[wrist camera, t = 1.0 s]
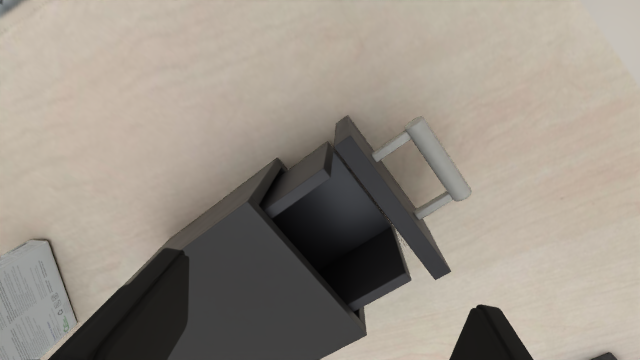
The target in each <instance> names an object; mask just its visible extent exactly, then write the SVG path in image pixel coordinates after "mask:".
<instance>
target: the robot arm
mask: <svg viewBox="0 0 640 360" xmlns="http://www.w3.org/2000/svg"><path fill="white" fill-rule="evenodd" d="M188 305H189V256H185V252H184V251H183V250H178V249H173V248H167V247H166V248H164V249H163V250H162V251H161V252H160V253H159V254H158V255H157V256H156V257H155V258H154V259H153V260H152V261H151V262H150V263H149V264H148V265H147V266H146V267H145V268H144V269H143V270H142V271H141V272H140V273H139V274H138V275H137V276H136V277H135V278H134V279H133V280H132V281H131V282H130V283H129V284H126V285H123V286H122V287H121V288H120V289H118V290H117V291H116V292H115V293H114V294H113V295H112V296H111V297H110V298H109V299H108V300H107V301H106V302H105V303H104V304H103V305H102V306H101V307H100V308H99V309H98V310H97V311H96V312H95V313H94V314H93V315H92V316H91V317H90V318H89V319H88V320H87V321H86V322H85V323H84V324H83V325H82V326H81V327H80V328H79V329H78V330H77V331H76V332H75V333H74V334H73V335H72V336H71V337H70V338H69V339H68V340H67V341H66V342H65V343H64V344H63V345H62V346H61V347H60V348H59V349H58V350H57V351H56V352H55V353H54V354H53V355H52V356H51V357H50V358H49V359H48V360H167V359H168V357H169V356H170V354H171V352H172V351H173V349H174V347H175V346H176V344H177V342H178V341H179V339H180V337H181V336H182V334H183V332H184V330H185V328H186V326H187V322H188ZM33 360H39V359H33ZM449 360H533V358H532V357H531V355H530V354H529V352H528V351H527V349H526V348H525V346H524V345H523V343H522V342H521V340H520V338H519V337H518V335H517V334H516V332H515V331H514V329H513V328H512V326H511V325H510V323H509V322H508V320H507V319H506V317H505V315H504V314H503V312H502V311H501V310H500V309H499V308H497V307H492V306H486V305H478V306H477V307H476V308H472V309H471V311H470V313H469V315H468V318H467V320H466V322H465V325H464V327H463V329H462V332H461V334H460V336H459V339H458V341H457V343H456V345H455V348H454V350H453V352H452V355H451V357H450V359H449Z"/></svg>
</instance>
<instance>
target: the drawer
mask: <svg viewBox="0 0 640 360" xmlns="http://www.w3.org/2000/svg"><path fill="white" fill-rule="evenodd" d="M405 130H406V131H404V132H402V133H401V134H399V135H398V136H396V137H395V138H394V139H392V140H391V141H389V142H388V143H386V144H385V145H383V146H382V147H381V148H379V149H378V150H376V151H375V152H374V151H373V149H372V148H371V146H370V145H369V144H368V142H367V141H366V140H365V138H364V137H363V135H362V134H361V133H360V131H359V130H358V129H357V127H356V126H355V124H354V123H353V122H352V120H351V119H350V118H349V116H348V115H347V116H346V117H344V118H343V119H342V120H340V121H339V122H338V123H336V130H335V142H334V148H335V149H336V151H337V152H338V153H339V155H340V156H341V157H342V158H343V160H344V161H345V162H346V164H347V165H348V166H349V168H350V169H351V170H352V172H353V173H354V174H355V176H356V177H357V178H358V179H359V181H360V182H361V183H362V185H363V186H364V187H365V189H366V190H367V191H368V193H369V194H370V195H371V197H372V198H373V199H374V200H375V202H376V203H377V204H378V206H379V207H380V208H381V210H382V211H383V212H384V214H385V215H386V216H387V217H388V219H389V220H390V221H391V223H392V224H393V225H394V227H395V228H396V229H397V231H398V232H399V233H400V235H401V236H402V237H403V238H404V240H405V241H406V242H407V244H408V245H409V246H410V248H411V249H412V250H413V252H414V253H415V254H416V256H417V257H418V258H419V259H420V261H421V262H422V263H423V265H424V266H425V267H426V269H427V270H428V271H429V273H430V274H431V275H432V276H433V278H434V279H435V280H437V279H439V278H440V277H442V276H444V275H446V274H448V273H450V272H451V270H450V268H449V266H448V265H447V263H446V261H445V259H444V257H443V255H442V253H441V252H440V250H439V248H438V246H437V244H436V242H435V240H434V239H433V237H432V235H431V233H430V231H429V229H428V227H427V226H426V224H425V222H424V220H423V218H424V217H425V216H427V215H429V214H430V213H432V212H434V211H435V210H437V209H439V208H440V207H442V206H444V205H445V204H447V203H449V202H450V201H452V200H454V201H462V200H464V199H466V198H468V197H469V196H470V194H471V192H472V191H471V189H470V187H469V186H468V184H467V182H466V181H465V179H464V178H463V176H462V175H461V173H460V172H459V170H458V169H457V167H456V166H455V164H454V163H453V161H452V160H451V158H450V157H449V155H448V154H447V152H446V150H445V149H444V147H443V146H442V144H441V143H440V141H439V140H438V138H437V137H436V135H435V134H434V132H433V131H432V129H431V128H430V126H429V125H428V123H427V122H426V120H425V118H424V117H423V116H420V117H417V118H415V119H414V120H412V121H411V122H409V123H408V124H407V125H406V126H405ZM410 139H412V140H413V142H414V143H415V145H416V146H417V148H418V149H419V151H420V152H421V154H422V155H423V157H424V158H425V159H426V161H427V162H428V164H429V165H430V167H431V168H432V170H433V171H434V173H435V174H436V176H437V177H438V179H439V180H440V181H441V183H442V184H443V186H444V187H445V189H446V190H447V191H446V192H444V193H443V194H441V195H439V196H438V197H436V198H434V199H433V200H431V201H429V202H428V203H426V204H425V205H423V206H421V207H420V208H418V209H416V208H415V207H414V206H413V204H412V203H411V201H410V200H409V199H408V197H407V196H406V195H405V193H404V192H403V190H402V189H401V188H400V186H399V185H398V184H397V182H396V181H395V179H394V178H393V177H392V175H391V174H390V173H389V171H388V170H387V168H386V167H385V166H384V164H383V163H382V162H381V159H382V158H384V157H385V156H387V155H388V154H390V153H391V152H393V151H394V150H396V149H397V148H399V147H400V146H402V145H403V144H405V143H406V142H408V141H409V140H410ZM334 148H333V147H332V146H331V144H330V143H329V142H328V141H327V142H326V143H325V144H323V145H322V146H321V147H319V148H318V149H316V150H315V151H314V152H312V153H311V154H310V155H308V156H307V157H306V158H304V159H303V160H301V161H300V162H299V163H297V164H296V165H295V166H293V167H292V168H291V169H289V170H288V171H287V172H285V173H284V174H282V175H281V176H280V177H278V178H277V179H276V180H274V181H273V182H272V184H271V185H270V187H269V189H268V190H267V192H266V194H265V195H264V197H263V199H262V200H261V202H260V204H259V206H260V208H261V209H262V210H263V211H264V212H265V213H266V214H267V215H268V217H269V218H270V219H271V220H272V221H273V222H274V223H275V225H276V226H277V227H278V228H279V229H280V230H281V231H282V232H283V234H284V235H285V236H286V237H287V238H288V239H289V240H290V241H291V243H292V244H293V245H294V246H295V247H296V248H297V249H298V250H299V252H300V253H301V254H302V255H303V256H304V257H305V258H306V259H307V261H308V262H309V263H310V264H311V265H312V266H313V267H314V269H315V270H316V271H317V272H318V273H319V274H320V275H321V276H322V278H323V279H324V280H325V281H326V282H327V283H328V284H329V285H330V287H331V288H332V289H333V290H334V291H335V292H336V293H337V294H338V296H339V297H340V298H341V299H342V300H343V301H344V302H345V303H346V305H347V306H348V307H349V308H350V309H351V310H352V311H353V312H354V311H356V310H358V309H360V308H362V307H363V306H365V305H367V304H369V303H371V302H373V301H375V300H376V299H378V298H380V297H382V296H384V295H386V294H387V293H389V292H391V291H393V290H395V289H397V288H398V287H400V286H402V285H404V284H406V283H408V282H409V281H411V277H410V274H409V271H408V268H407V265H406V262H405V258H404V255H403V252H402V249H401V246H400V243H399V240H398V237H397V234H396V231H395V228H394V227H393V225H392V224H391V223H390V221H389V220H388V219H387V218H386V216H385V215H384V214H383V212H382V211H381V210H380V208H379V207H378V206H377V204H376V203H375V202H374V201H373V199H372V198H371V197H370V195H369V194H368V193H367V191H366V190H365V189H364V187H363V186H362V185H361V183H360V182H359V181H358V180H357V178H356V177H355V176H354V174H353V173H352V172H351V170H350V169H349V168H348V166H347V165H346V164H345V163H344V161H343V160H342V159H341V157H340V156H339V155H338V153H337V152H336V151H335V149H334Z"/></svg>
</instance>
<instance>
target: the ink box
mask: <svg viewBox="0 0 640 360" xmlns="http://www.w3.org/2000/svg"><path fill="white" fill-rule="evenodd" d="M76 324H77V321H76V319H75V316H74V313H73V310H72V308H71V305H70V302H69V299H68V296H67V294H66V291H65V288H64V285H63V282H62V280H61V277H60V274H59V271H58V268H57V266H56V263H55V260H54V257H53V254H52V252H51V249H50V246H49V243H48V241H47V240H35V239H33V240H29V241H27V242H25V243H23V244H21V245H19V246H18V247H16V248H14V249H12V250H11V251H9V252H7V253H6V254H4V255H2V256H0V360H33V359H40V358H41V357H42V356H43V355H44V354H45V353H46V352H48V351H49V350H50V349H51V348H52V347H53V346H54V345H55V344H56V343H57V342H58V341H59V340H60V339H61V338H62V337H63V336H64V335H66V334H67V333H68V332H69V331H70V330H71V329H72V328H73V327H74V326H75V325H76Z"/></svg>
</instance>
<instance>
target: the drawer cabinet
mask: <svg viewBox="0 0 640 360" xmlns="http://www.w3.org/2000/svg"><path fill="white" fill-rule="evenodd" d="M287 171H288V170H287V168H286V167H285V166H284V165H283V164H282V162H281V161H280V160H279V159H278V158H276V159H275V160H274V161H272V162H271V163H270V164H268V165H267V166H266V167H264V168H263V169H262V170H260V171H259V172H258V173H256V174H255V175H254V176H252V177H251V178H250V179H248V180H247V181H246V182H244V183H243V184H242V185H241V186H239V187H238V188H237V189H235V190H234V191H233V192H231V193H230V194H229V195H227V196H226V197H225V198H223V199H222V200H221V201H219V202H218V203H217V204H215V205H214V206H213V207H212V208H210V209H209V210H208V211H206V212H205V213H204V214H202V215H201V216H200V217H198V218H197V219H196V220H194V221H193V222H192V223H190V224H189V225H188V226H186V227H185V228H184V229H182V230H181V231H180V232H179V233H177V234H176V235H175V236H173V237H172V238H171V239H169V240H168V241H167V242H166V243H165V244H164V245H163V246H162V247H161V248H160V249H159V250H158V251H157V252H156V253H155V254H154V255H153V256H152V257H151V258H150V259H149V260H148V261H147V262H146V263H145V264H144V265H143V266H142V267H141V268H140V269H139V270H138V271H137V272H136V273H135V274H134V275H133V276H132V277H131V278H130V279H129V280H128V281H127V282H126V283H125V284H124V285H126V284H129V283H130V282H131V281H132V280H133V279H134V278H135V277H136V276H137V275H138V274H139V273H140V272H141V271H142V270H143V269H144V268H145V267H146V266H147V265H148V264H149V263H150V262H151V261H152V260H153V259H154V258H155V257H156V256H157V255H158V254H159V253H160V252H161V251H162V250H163V249H164V248H166V247H167V248H173V249H178V250H183V251H184V252H185V256H189V305H188V322H187V326H186V328H185V330H184V332H183V334H182V336H181V337H180V339H179V341H178V342H177V344H176V346H175V347H174V349H173V351H172V352H171V354H170V356H169V357H168V359H167V360H320V359H322V358H323V357H325V356H327V355H329V354H331V353H333V352H335V351H337V350H339V349H341V348H343V347H345V346H347V345H349V344H351V343H353V342H355V341H357V340H359V339H361V338H362V337H364V336H366V335H367V332H366V324H365V314H364V306H363V307H362V308H360V309H358V310H356V311H354V312H353V311H352V310H351V309H350V308H349V307H348V306H347V305H346V303H345V302H344V301H343V300H342V299H341V298H340V297H339V296H338V294H337V293H336V292H335V291H334V290H333V289H332V288H331V287H330V285H329V284H328V283H327V282H326V281H325V280H324V279H323V278H322V276H321V275H320V274H319V273H318V272H317V271H316V270H315V269H314V267H313V266H312V265H311V264H310V263H309V262H308V261H307V259H306V258H305V257H304V256H303V255H302V254H301V253H300V252H299V250H298V249H297V248H296V247H295V246H294V245H293V244H292V243H291V241H290V240H289V239H288V238H287V237H286V236H285V235H284V234H283V232H282V231H281V230H280V229H279V228H278V227H277V226H276V225H275V223H274V222H273V221H272V220H271V219H270V218H269V217H268V215H267V214H266V213H265V212H264V211H263V210H262V209H261V208H260V206H259V204H260V202H261V200H262V199H263V197H264V195H265V194H266V192H267V190H268V189H269V187H270V185H271V184H272V182H273V181H274V180H276V179H277V178H278V177H280V176H281V175H282V174H284V173H285V172H287Z"/></svg>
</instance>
